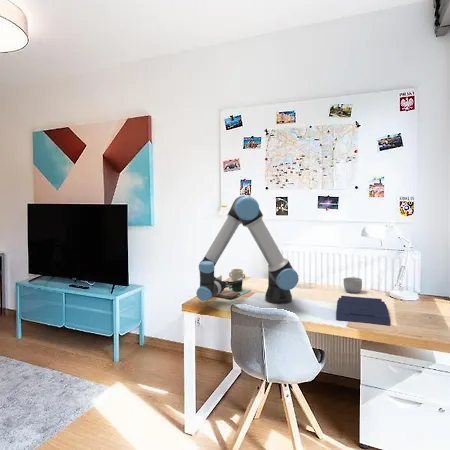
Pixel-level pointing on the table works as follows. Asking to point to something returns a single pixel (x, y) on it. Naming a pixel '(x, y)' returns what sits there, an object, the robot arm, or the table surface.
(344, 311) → the folded navy cloth
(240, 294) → the mat
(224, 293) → the walnut slab
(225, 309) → the table surface
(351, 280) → the teacup
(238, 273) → the character mug
